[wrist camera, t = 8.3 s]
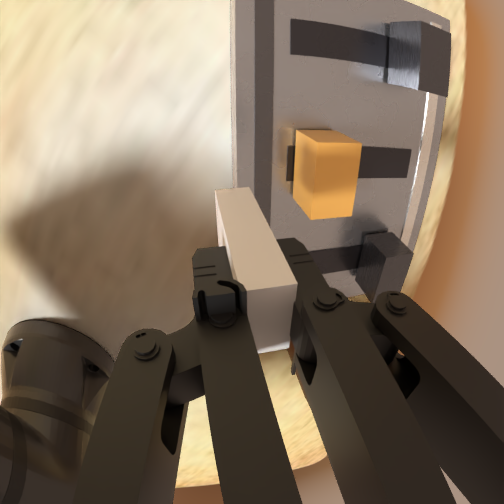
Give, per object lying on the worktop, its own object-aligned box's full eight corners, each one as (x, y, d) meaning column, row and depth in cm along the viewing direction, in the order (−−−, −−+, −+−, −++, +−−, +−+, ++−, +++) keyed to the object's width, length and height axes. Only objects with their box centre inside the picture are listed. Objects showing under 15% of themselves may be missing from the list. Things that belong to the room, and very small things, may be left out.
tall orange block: (292, 197, 22) (310, 220, 19) (296, 129, 19) (317, 142, 16) (329, 194, 22) (351, 216, 20) (336, 130, 20) (361, 143, 17)
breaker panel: (237, 301, 29) (249, 347, 25) (230, -25, 14) (247, -54, 9) (392, 274, 33) (419, 308, 28) (434, 20, 17) (482, 22, 12)
